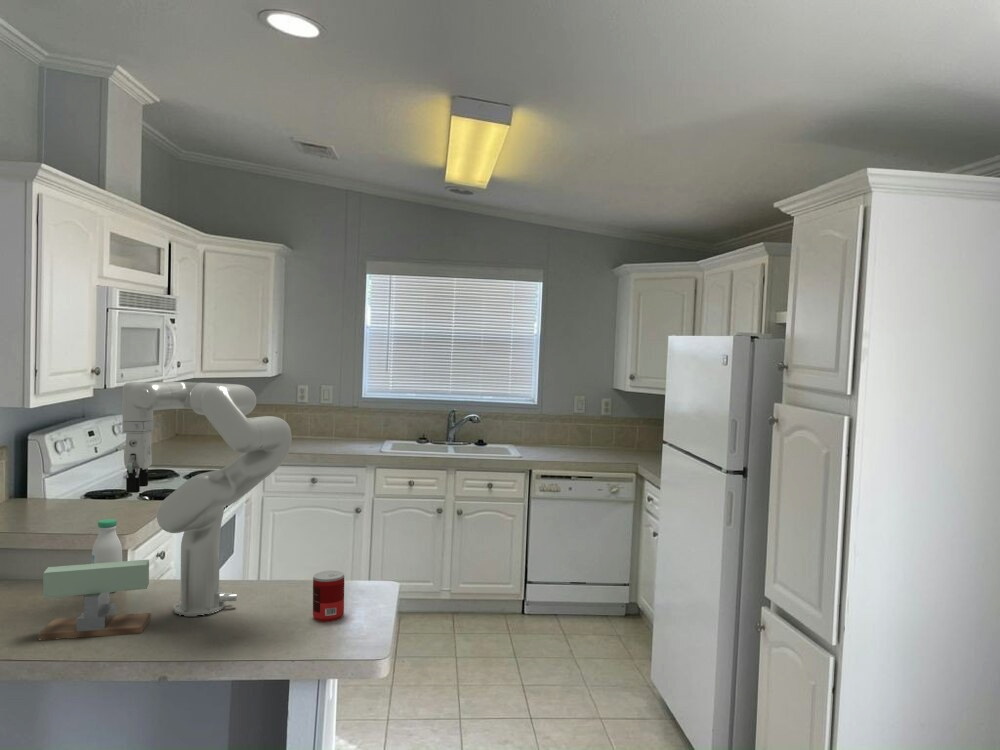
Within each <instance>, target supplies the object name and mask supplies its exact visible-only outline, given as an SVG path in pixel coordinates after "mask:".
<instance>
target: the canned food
mask: <svg viewBox="0 0 1000 750" xmlns="http://www.w3.org/2000/svg"><path fill="white" fill-rule="evenodd" d="M344 613H345V573H344V572H343V571H340V570H324V571H320V572H316V573H314V574H313V577H312V617H313V619H314V620H315V621H316V622H320V623H327V622H329V623H331V622H334V621H337V620H340V619H342V617H344Z"/></svg>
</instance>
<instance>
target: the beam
mask: <svg viewBox="0 0 1000 750" xmlns="http://www.w3.org/2000/svg"><path fill="white" fill-rule="evenodd" d="M42 575H43V576H42V578H43V580H42V584H43V585H42V587H43V588H42V589H43V592H42V595H43V596H42V598H43V599H49V598H50V599H51V598H52V599H53V598H61V597H62V598H63V597H72V596H73V597H74V596H82V595H84V596H86V595H87V594H96V593H107V592H112V593H117V592H118V593H119V592H125V591H126V592H127V591H128V592H129V591H139V590H147V589H148V587H149V583H150V559H138V560H137V559H136V560H125V561H123V560H122V562H109V563H96V564H92V563H87V564H72V565H61V566H60V565H59V566H48V567H47V568H46V569H45V570H44V572H43V573H42Z"/></svg>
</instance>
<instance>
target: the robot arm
mask: <svg viewBox="0 0 1000 750" xmlns="http://www.w3.org/2000/svg"><path fill="white" fill-rule="evenodd" d="M256 405H257V396H256V394H255V392H254V390H252V389H251V388H250V387H248V386H247V385H243V384H237V383H236V384H235V383H234V384H233V383H219V382H218V383H215V382H191V381H189V382H188V381H187V382H186V381H160V382H159V381H155V382H143V381H135V382H132V381H131V382H130V381H129V382H126V383H125V384H123V386H122V405H121V406H122V408H121V409H122V412H121V413H122V415H121V417H122V418H121V419H122V424H121V425H122V427H121V429H122V431H121V433H122V434H125V447H124V452H125V453H124V466H125V469H126V478H125V479H126V481H125V483H126V484H125V485H126V487H125V488H126V489H125V492H126V494H133V493H134V494H137V493H140V492H141V491H140V490H141V487H142V488H143V487H148V486H149V472H148V471H149V467H151V466H152V465H153V456H152V454H153V453H152V437H151V433H154V411H161V410H174V409H175V410H177V409H179V410H180V409H187V410H192V411H193V412H194V413H195V414H197V415H203V416H205V417H206V419H207V420H208V421H209V423H210V424H211V426H212V427H213V428H214V429H215V430H216V432H217V433H218V434H219V435H220V436H221V438H222V439H223V441H225V443H226V445H228V446H229V447H230V448H231V449H233V450H234V451H235V452H237V453H242V454H241V455H239V456H238V457H237V458H236V459H235V460H234V461H232V462H231V463H230V464H228V465H226V466H224V467H223V468H220V469H216V470H211V471H207V472H202V473H198V474H196V475H194V476H192V477H190V478H189V479H187V480H186V481H185V482H184V483H182V484H181V485H180V486H178V487H177V488H176V489H175V490H174V491H173V492H171V493H170V494H169V495H168V496H166V497H165V498H164V499H163V500H162V501H161V503H160V504H159V506H158V509H157V511H156V522H157V523H158V525H159V527H160V528H161V529H162V530H164V531H165V532H167V533H169V534H180V533H182V537H181V543H180V595H179V596H180V601H179V602H178V603H176V604H175V605H174V606H173V613H174V614H176V613H177V614H179V615H178V616H181V615H184V616H183V617H197V616H196V615H202V614H208V613H212V612H215V611H217V610H220V609H222V608H223V607H224V606H225V607H226V602H237V598H238V595H237V593H234V591H230V592H224V591H222V587H220V550H221V549H220V548H221V547H220V545H221V543H220V542H221V528H222V523H223V522H222V521H223V518H224V513H225V512H224V511H225V507H228V506H230V505H233V504H234V503H236V502H238V501H239V500H240V499H242V498H243V496H245V495H246V494H248V493H249V492H250V491H251V490H253V489H254V488H255V487H257V486H258V485H259V484H260V483H261V482H262V481H264V480H265V479H266V478H267V477H269V476H270V475H272V473H274V472H275V471H276V470H277V469H279V467H280V466H281V465H282V464H283V462H285V460H286V459H287V456H288V455H289V453H290V450H291V447H292V440H293V439H292V437H293V436H292V430H291V427H290V425H289V424H288V422H287V421H286V420H284V419H283V418H280V417H278V416H275V415H274V416H273V415H271V416H270V415H266V416H265V415H263V416H256V417H255V416H254V417H253V416H252V417H247V415H248V414H251V413H252V411H254V409H255V407H256ZM225 607H224V608H225ZM224 608H223V609H224ZM223 609H222V610H223ZM220 611H221V610H220ZM177 614H176V615H177Z"/></svg>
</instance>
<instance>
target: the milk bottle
mask: <svg viewBox="0 0 1000 750" xmlns="http://www.w3.org/2000/svg"><path fill="white" fill-rule="evenodd" d="M97 526H98V527H97V529H98V534H97V537H96V539H95V541H94V543H93V546H92V549H91V564H96V563H109V562H122V561H123V545H122V543H121V540H120V539H119V537H118V534H117V532H116V531H117V530H116V528H117V520H116V519H114V518H106V519H100V520H99V521H98V522H97ZM111 593H113V592H110V594H111Z"/></svg>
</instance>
